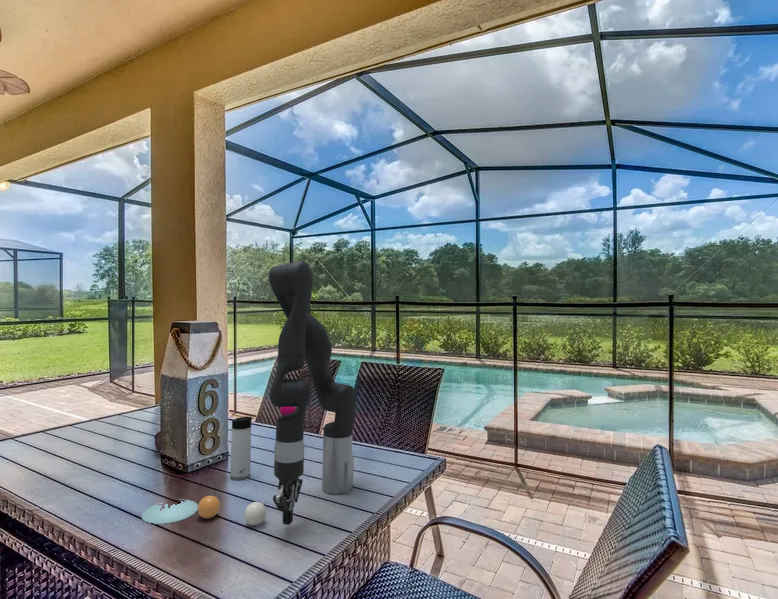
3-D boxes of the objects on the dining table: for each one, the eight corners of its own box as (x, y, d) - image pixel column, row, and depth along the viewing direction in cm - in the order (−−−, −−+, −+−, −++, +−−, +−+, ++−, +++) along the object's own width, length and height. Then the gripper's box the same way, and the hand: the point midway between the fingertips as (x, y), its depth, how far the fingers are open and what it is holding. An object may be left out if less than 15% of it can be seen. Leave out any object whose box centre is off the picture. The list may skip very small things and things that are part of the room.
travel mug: (244, 481, 144) (246, 420, 144) (226, 479, 145) (228, 418, 145) (254, 474, 150) (255, 415, 150) (236, 472, 151) (238, 414, 151)
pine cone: (144, 452, 169) (145, 426, 169) (170, 445, 177) (171, 421, 177) (167, 463, 158) (167, 435, 158) (193, 455, 166) (194, 429, 166)
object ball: (223, 513, 121) (224, 493, 122) (211, 523, 116) (211, 502, 116) (206, 511, 123) (206, 491, 123) (192, 520, 117) (193, 499, 117)
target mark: (208, 503, 127) (208, 502, 127) (174, 527, 114) (174, 526, 114) (167, 497, 131) (167, 497, 131) (129, 520, 117) (129, 519, 117)
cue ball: (269, 520, 118) (270, 499, 118) (259, 530, 113) (259, 508, 113) (251, 517, 120) (251, 497, 120) (239, 527, 114) (240, 506, 114)
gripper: (291, 466, 107) (289, 538, 107) (312, 449, 120) (311, 513, 120) (263, 463, 109) (261, 534, 108) (287, 447, 122) (285, 510, 121)
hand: (287, 523), depth 114 cm, fingers closed
